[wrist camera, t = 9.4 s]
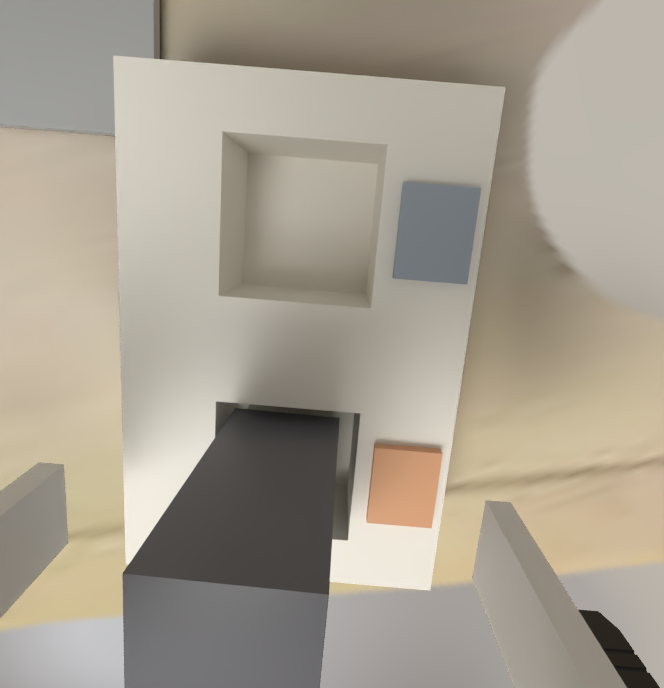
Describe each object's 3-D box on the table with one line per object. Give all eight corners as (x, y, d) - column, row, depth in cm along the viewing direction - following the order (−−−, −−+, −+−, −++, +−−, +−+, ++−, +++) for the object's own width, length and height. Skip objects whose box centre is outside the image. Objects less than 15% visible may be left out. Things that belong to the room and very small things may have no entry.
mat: (-51, -103, 18) (-65, -115, 17) (159, -87, 18) (152, -98, 17) (-30, 124, 19) (-42, 121, 19) (160, 139, 19) (154, 136, 19)
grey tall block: (251, 383, 21) (122, 573, 9) (341, 392, 21) (328, 595, 9) (247, 466, 22) (125, 735, 10) (333, 474, 21) (313, 756, 10)
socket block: (172, 101, 19) (106, 50, 14) (464, 125, 19) (510, 82, 14) (171, 495, 23) (121, 571, 18) (411, 515, 23) (431, 598, 18)
